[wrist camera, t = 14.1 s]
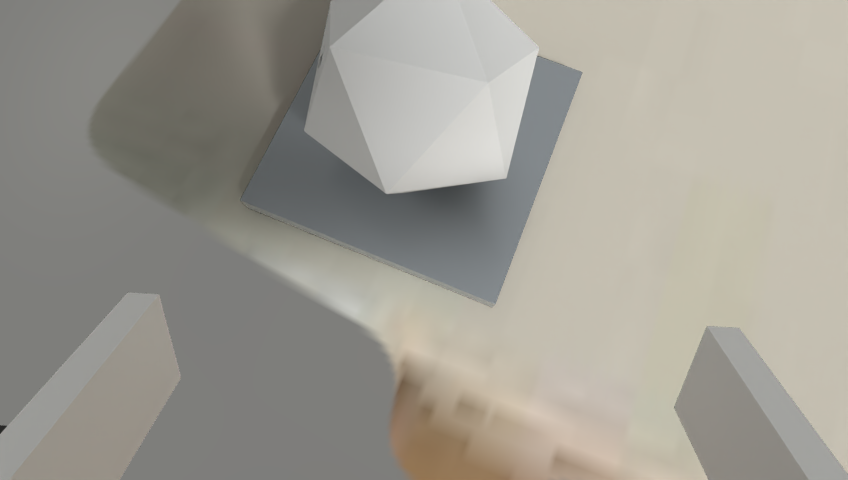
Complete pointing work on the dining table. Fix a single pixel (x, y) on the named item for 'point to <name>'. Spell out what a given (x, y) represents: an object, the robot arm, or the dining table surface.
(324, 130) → the die
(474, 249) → the slate board
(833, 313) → the dining table surface
